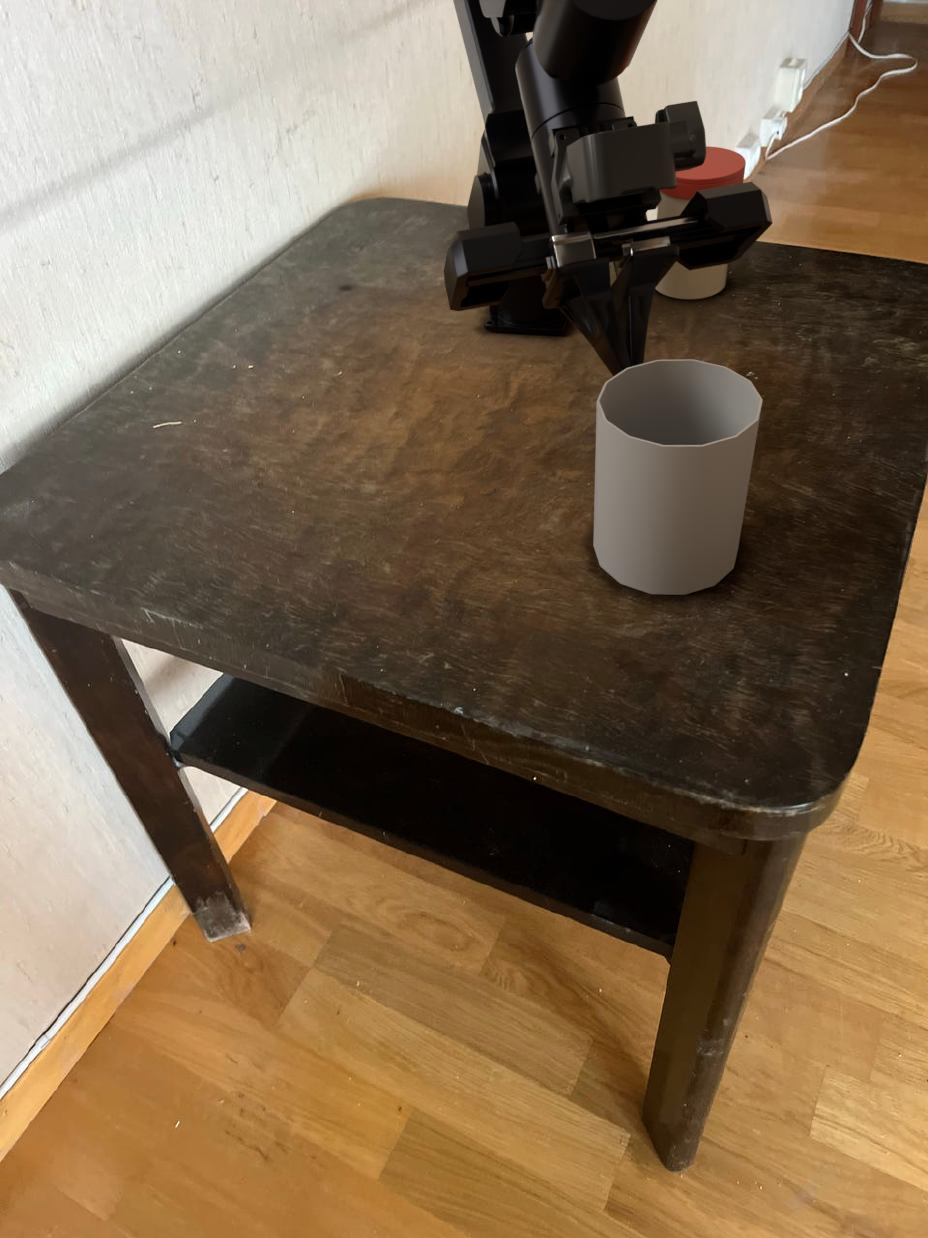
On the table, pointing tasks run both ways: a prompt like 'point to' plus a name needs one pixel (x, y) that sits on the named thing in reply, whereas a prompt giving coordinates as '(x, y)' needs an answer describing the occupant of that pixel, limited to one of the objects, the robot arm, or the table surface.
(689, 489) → the cup
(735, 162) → the lid
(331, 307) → the table surface
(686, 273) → the jar
